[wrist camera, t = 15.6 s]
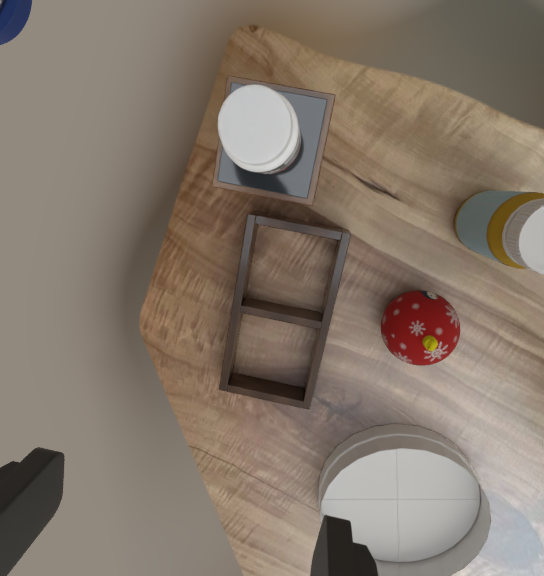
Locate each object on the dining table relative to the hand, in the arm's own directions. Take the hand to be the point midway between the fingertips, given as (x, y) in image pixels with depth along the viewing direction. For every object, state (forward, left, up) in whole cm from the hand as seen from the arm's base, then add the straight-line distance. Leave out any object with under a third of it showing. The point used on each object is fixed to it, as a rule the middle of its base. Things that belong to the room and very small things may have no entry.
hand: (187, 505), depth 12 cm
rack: (+1, -6, -40) cm, 41 cm away
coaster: (-2, +12, -22) cm, 25 cm away
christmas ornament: (+17, -4, -40) cm, 44 cm away
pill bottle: (-2, +12, -22) cm, 25 cm away
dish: (+22, -30, -40) cm, 55 cm away
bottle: (+22, +9, -40) cm, 47 cm away
